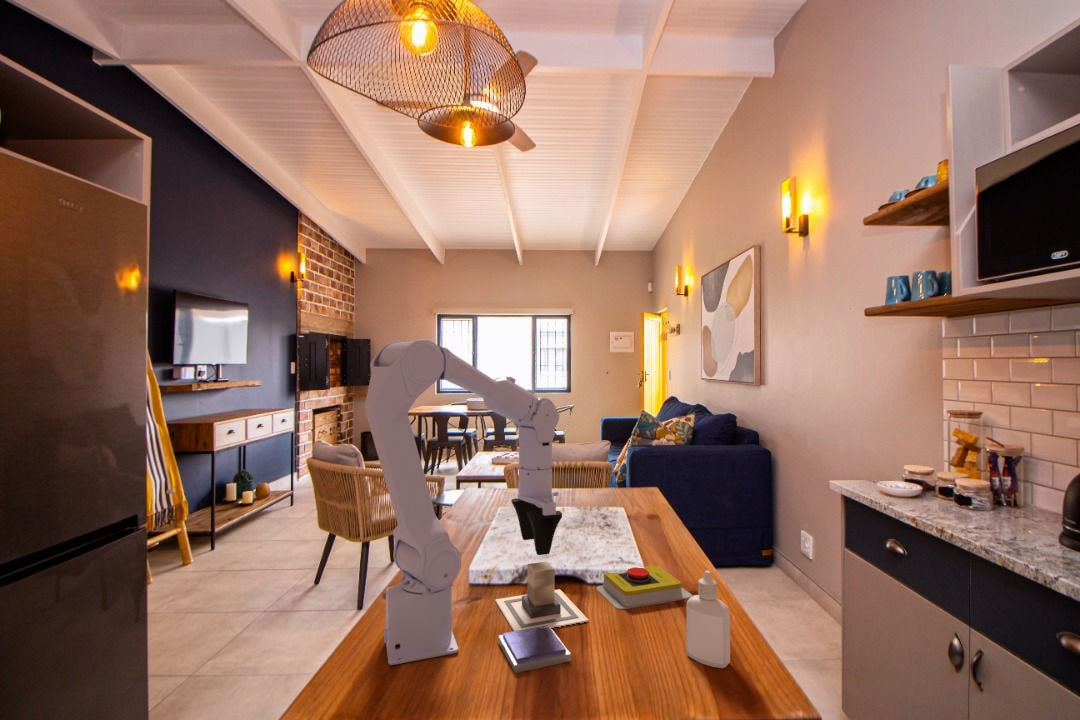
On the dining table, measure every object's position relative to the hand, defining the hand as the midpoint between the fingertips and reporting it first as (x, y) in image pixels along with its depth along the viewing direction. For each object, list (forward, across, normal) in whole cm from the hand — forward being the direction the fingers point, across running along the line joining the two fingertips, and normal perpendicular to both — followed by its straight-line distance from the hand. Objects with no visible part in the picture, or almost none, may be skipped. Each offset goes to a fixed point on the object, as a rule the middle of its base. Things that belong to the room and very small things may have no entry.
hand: (535, 546), depth 88 cm
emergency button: (+10, -3, -19) cm, 22 cm away
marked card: (+10, -4, 0) cm, 10 cm away
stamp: (+9, -4, 0) cm, 10 cm away
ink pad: (+9, -14, +5) cm, 18 cm away
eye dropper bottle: (+10, -24, -17) cm, 31 cm away
